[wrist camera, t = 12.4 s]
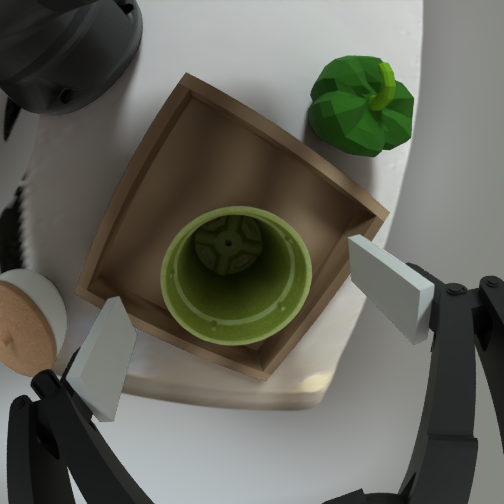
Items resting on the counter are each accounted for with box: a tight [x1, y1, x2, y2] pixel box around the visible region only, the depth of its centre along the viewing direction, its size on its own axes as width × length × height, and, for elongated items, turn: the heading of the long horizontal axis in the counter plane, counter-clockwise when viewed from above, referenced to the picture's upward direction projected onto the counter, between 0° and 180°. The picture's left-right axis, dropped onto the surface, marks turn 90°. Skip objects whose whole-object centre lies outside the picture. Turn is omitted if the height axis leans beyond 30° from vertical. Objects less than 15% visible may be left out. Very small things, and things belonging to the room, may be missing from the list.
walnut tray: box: [75, 72, 390, 381], centre depth 25 cm, size 20×20×5 cm
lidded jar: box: [0, 269, 67, 377], centre depth 22 cm, size 11×11×9 cm
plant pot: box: [160, 206, 312, 345], centre depth 22 cm, size 9×9×9 cm
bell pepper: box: [308, 56, 414, 157], centre depth 20 cm, size 8×8×10 cm
